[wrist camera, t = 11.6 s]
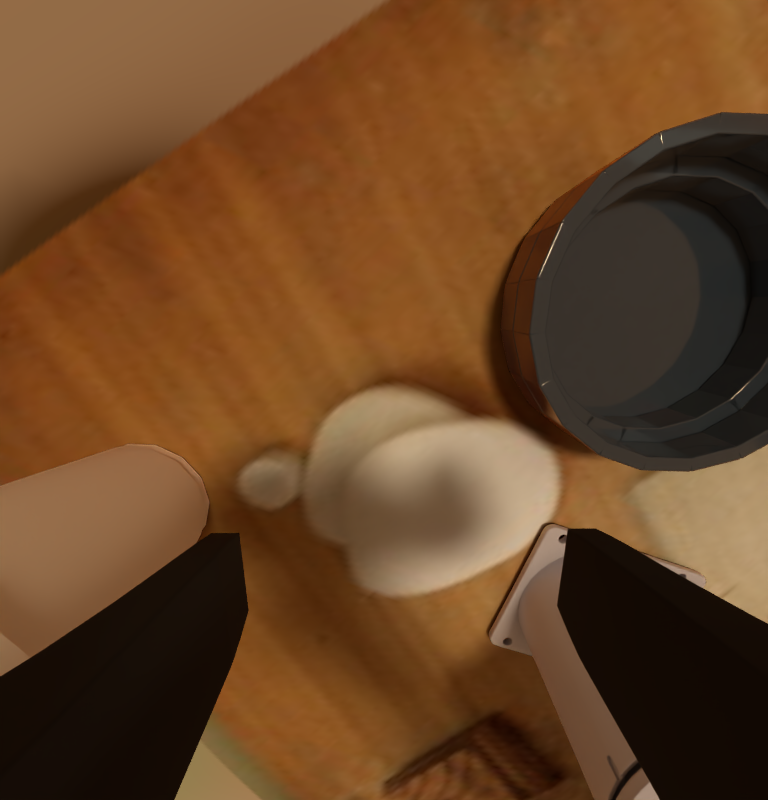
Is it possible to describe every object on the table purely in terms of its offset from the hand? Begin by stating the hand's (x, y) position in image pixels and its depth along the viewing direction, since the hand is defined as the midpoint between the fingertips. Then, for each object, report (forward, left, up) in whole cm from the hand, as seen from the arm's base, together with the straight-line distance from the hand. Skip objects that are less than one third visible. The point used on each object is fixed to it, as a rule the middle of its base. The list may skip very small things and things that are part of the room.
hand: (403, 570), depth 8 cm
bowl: (-8, -9, -10) cm, 16 cm away
